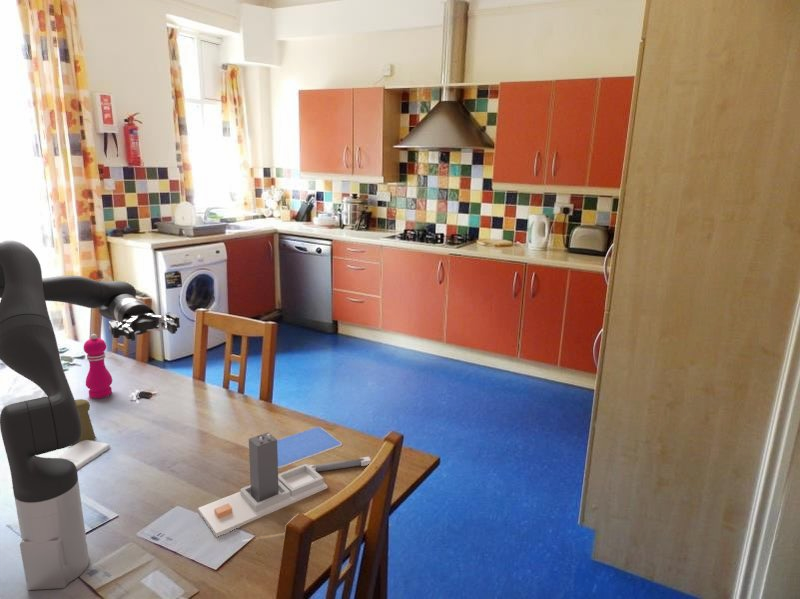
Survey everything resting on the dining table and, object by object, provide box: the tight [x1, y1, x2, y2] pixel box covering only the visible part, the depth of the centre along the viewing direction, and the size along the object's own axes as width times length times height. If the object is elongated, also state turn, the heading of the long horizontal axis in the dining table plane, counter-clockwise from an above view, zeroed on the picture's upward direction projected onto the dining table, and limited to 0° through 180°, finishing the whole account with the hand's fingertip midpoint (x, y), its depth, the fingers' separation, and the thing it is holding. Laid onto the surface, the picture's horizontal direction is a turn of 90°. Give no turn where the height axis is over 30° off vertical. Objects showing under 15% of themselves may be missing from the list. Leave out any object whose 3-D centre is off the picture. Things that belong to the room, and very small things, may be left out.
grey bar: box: [305, 456, 372, 473], centre depth 128 cm, size 16×2×2 cm, turn 107°
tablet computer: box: [277, 426, 343, 469], centre depth 138 cm, size 19×13×1 cm, turn 129°
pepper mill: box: [83, 333, 113, 399], centre depth 161 cm, size 7×7×20 cm
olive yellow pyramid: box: [72, 398, 96, 446], centre depth 136 cm, size 6×6×11 cm
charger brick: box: [248, 431, 279, 502], centre depth 114 cm, size 4×5×15 cm
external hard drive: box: [53, 440, 111, 470], centre depth 129 cm, size 2×8×12 cm
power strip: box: [197, 462, 328, 538], centre depth 115 cm, size 26×10×2 cm, turn 131°
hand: (154, 332), depth 116 cm, fingers open, 8 cm apart
